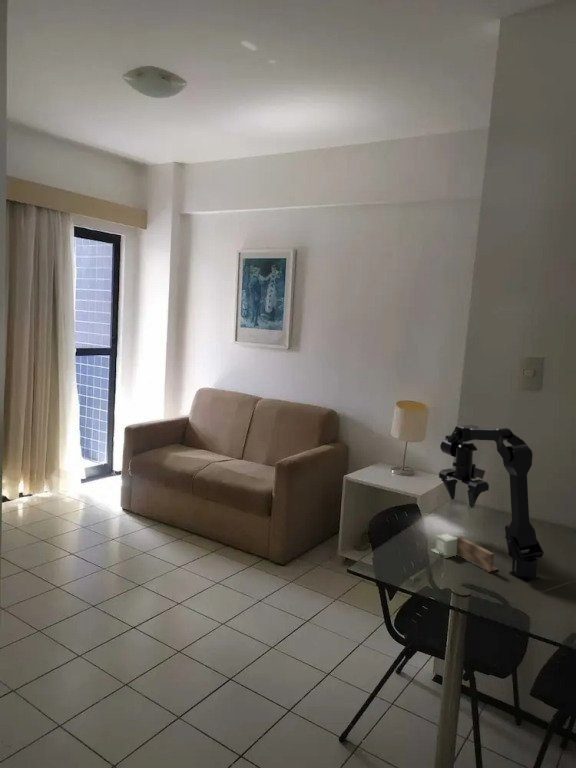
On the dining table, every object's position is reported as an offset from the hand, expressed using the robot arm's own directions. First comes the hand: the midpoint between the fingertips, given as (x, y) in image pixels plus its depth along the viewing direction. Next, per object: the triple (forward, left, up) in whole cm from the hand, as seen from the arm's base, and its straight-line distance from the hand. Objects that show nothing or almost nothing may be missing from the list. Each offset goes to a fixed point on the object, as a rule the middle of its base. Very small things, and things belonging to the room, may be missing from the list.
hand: (462, 503), depth 203 cm
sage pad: (-8, +14, -12) cm, 20 cm away
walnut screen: (-18, +12, -12) cm, 24 cm away
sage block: (-8, +14, -12) cm, 20 cm away
